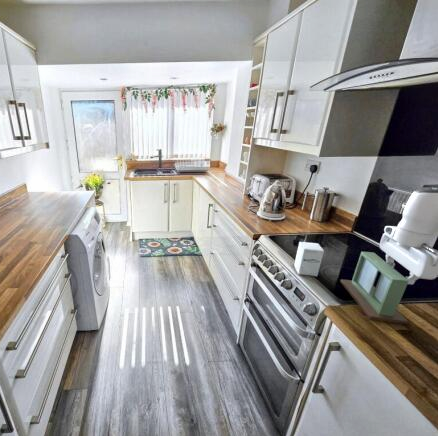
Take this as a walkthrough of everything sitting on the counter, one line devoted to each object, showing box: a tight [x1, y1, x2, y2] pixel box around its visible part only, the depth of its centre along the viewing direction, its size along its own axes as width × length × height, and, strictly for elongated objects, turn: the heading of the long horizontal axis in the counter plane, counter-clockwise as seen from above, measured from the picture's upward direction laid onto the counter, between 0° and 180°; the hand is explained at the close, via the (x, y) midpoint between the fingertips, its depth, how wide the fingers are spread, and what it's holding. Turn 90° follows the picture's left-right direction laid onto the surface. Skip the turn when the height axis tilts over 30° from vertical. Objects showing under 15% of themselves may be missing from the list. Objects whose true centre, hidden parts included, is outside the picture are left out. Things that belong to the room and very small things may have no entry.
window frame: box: [339, 251, 409, 325], centre depth 84 cm, size 10×21×15 cm, turn 165°
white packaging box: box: [293, 241, 325, 277], centre depth 103 cm, size 7×7×13 cm
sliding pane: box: [373, 272, 390, 303], centre depth 80 cm, size 5×8×11 cm, turn 165°
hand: (398, 274), depth 80 cm, fingers open, 8 cm apart
